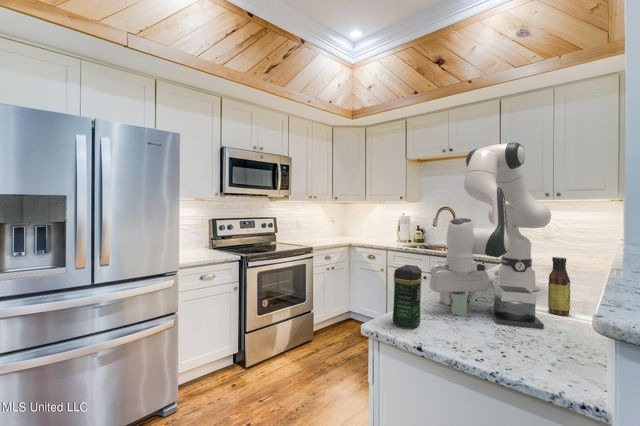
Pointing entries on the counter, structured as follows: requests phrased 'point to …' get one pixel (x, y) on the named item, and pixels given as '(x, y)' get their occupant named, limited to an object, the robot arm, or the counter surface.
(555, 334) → the counter surface
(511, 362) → the counter surface
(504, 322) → the framed dark dome
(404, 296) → the coffee jar
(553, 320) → the counter surface
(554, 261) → the sauce bottle
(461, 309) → the pale green block
